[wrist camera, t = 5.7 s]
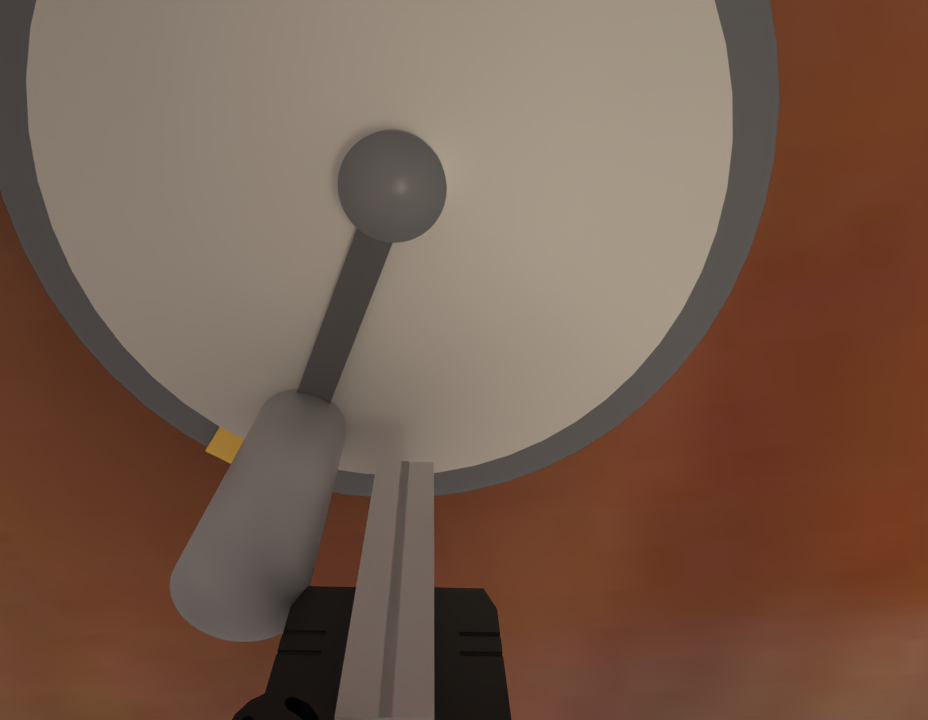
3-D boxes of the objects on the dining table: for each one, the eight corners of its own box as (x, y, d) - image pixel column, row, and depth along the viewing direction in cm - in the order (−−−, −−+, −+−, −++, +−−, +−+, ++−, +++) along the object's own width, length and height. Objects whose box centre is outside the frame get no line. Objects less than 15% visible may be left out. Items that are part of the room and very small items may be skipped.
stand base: (-53, -360, 13) (-146, -452, 11) (834, -229, 15) (904, -286, 12) (91, 452, 20) (52, 492, 18) (661, 474, 22) (687, 513, 20)
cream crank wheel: (148, -412, 11) (-304, -1255, 4) (831, -6, 14) (1203, -110, 8) (16, 343, 17) (-277, 512, 10) (535, 515, 20) (594, 733, 13)
